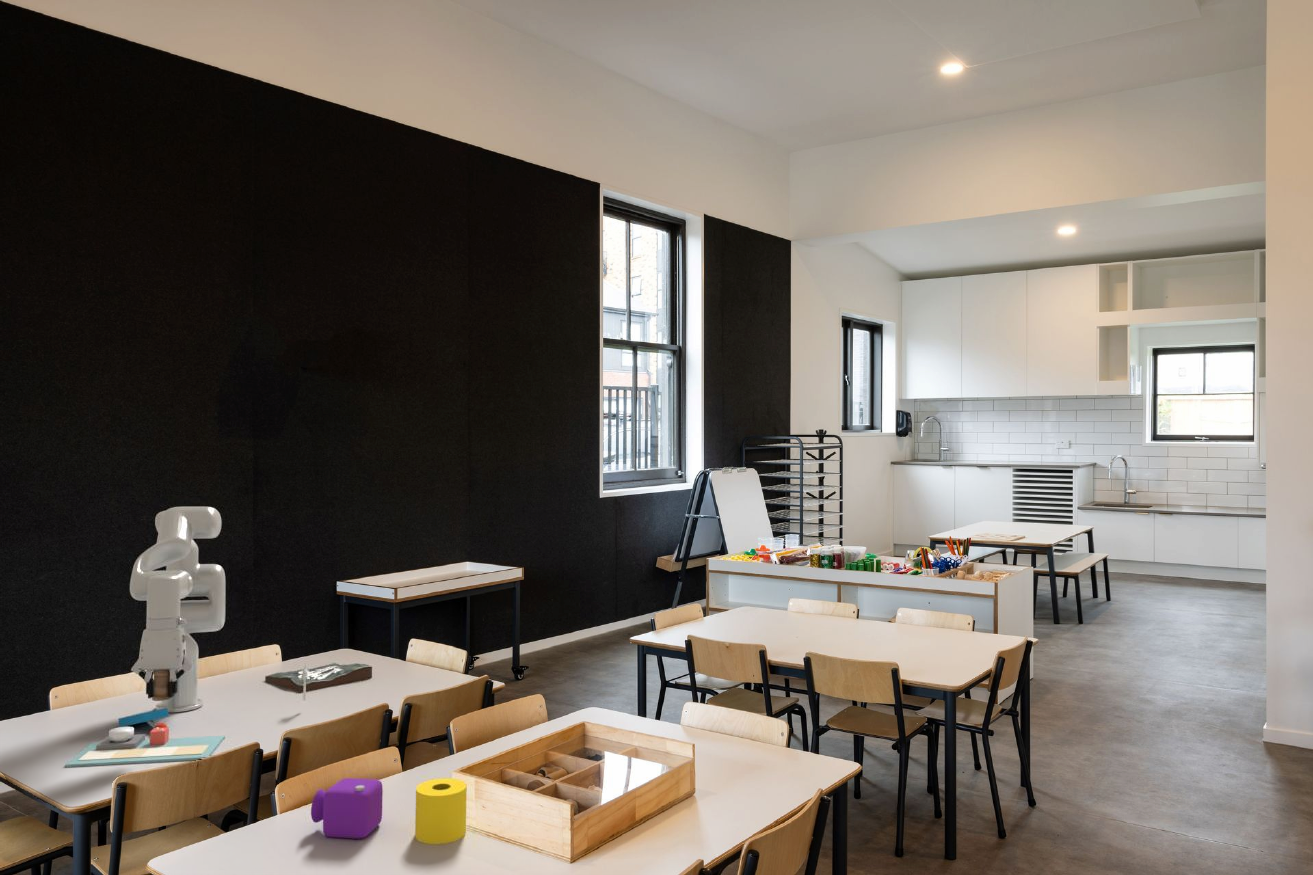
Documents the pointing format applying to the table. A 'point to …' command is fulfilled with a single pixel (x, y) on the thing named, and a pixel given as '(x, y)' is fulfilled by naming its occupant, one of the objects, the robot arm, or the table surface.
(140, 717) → the lever
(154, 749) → the board
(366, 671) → the relief map
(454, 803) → the yellow toilet paper roll
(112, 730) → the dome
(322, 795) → the toy camera
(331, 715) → the table surface
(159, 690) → the pawn
